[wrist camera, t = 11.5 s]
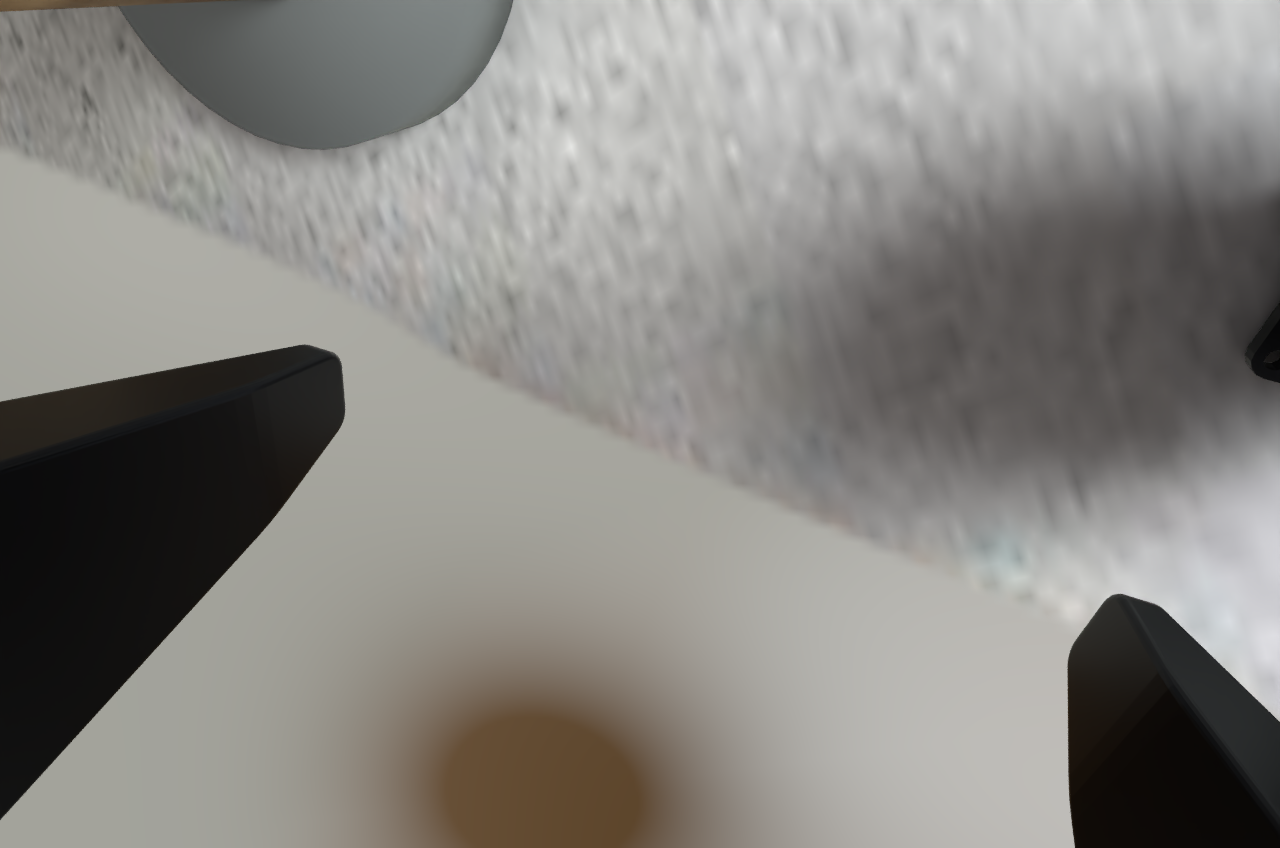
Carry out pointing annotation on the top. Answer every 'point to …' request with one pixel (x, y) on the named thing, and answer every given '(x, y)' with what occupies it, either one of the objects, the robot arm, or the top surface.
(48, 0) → the teak pillar
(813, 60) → the top surface
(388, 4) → the grey plinth
